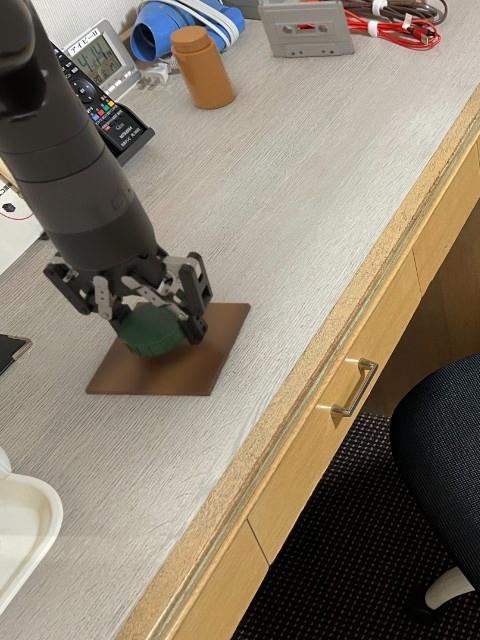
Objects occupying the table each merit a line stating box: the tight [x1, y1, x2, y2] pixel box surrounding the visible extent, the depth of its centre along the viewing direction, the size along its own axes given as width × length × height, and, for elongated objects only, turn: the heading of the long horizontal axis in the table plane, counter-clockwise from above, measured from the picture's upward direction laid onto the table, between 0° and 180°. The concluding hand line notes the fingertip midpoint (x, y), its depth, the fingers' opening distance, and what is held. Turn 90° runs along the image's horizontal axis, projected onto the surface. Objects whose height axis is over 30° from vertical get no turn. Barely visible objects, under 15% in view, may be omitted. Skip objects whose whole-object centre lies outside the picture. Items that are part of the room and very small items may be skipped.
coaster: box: [84, 301, 251, 397], centre depth 82 cm, size 12×12×1 cm
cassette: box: [257, 0, 355, 58], centre depth 120 cm, size 12×2×8 cm, turn 92°
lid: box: [119, 301, 186, 357], centre depth 79 cm, size 6×6×2 cm
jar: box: [169, 25, 237, 110], centre depth 111 cm, size 6×6×10 cm
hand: (167, 338), depth 81 cm, fingers closed on lid, 5 cm apart
